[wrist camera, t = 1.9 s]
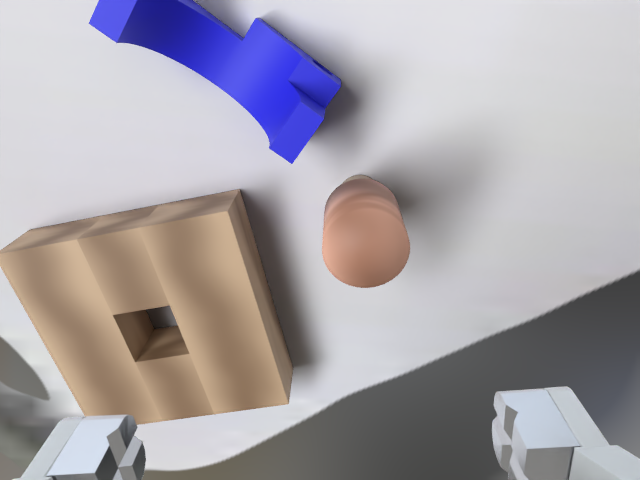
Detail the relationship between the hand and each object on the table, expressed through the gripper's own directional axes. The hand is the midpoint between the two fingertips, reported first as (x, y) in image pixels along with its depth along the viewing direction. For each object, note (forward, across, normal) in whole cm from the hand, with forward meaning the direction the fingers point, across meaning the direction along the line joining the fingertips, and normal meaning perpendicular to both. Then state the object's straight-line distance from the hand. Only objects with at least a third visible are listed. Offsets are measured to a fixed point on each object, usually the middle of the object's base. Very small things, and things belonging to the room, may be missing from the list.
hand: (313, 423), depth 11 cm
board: (+24, +13, +10) cm, 29 cm away
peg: (+23, -2, +3) cm, 23 cm away
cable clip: (+23, +4, -7) cm, 25 cm away
